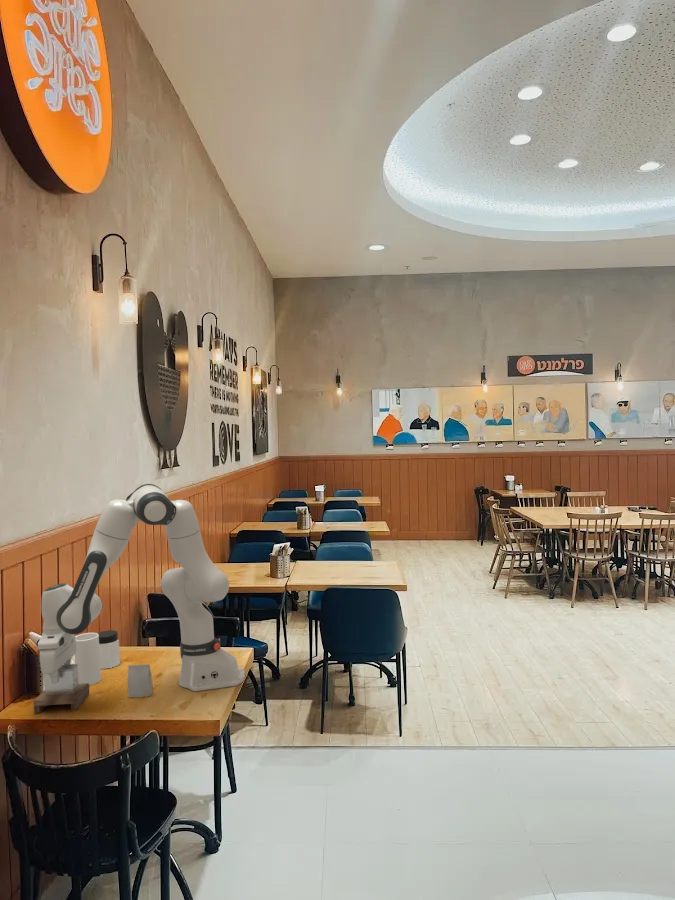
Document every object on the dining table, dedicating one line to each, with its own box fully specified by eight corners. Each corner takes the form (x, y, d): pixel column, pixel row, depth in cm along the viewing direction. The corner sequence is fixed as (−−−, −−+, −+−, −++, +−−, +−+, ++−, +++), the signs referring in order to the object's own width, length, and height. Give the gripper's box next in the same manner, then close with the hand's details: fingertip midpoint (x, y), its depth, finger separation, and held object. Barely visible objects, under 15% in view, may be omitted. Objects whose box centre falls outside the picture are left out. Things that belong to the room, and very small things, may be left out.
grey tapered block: (149, 696, 210) (147, 666, 209) (128, 697, 210) (126, 667, 209) (152, 692, 214) (150, 662, 213) (132, 693, 213) (130, 663, 213)
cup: (92, 686, 221) (89, 640, 220) (71, 685, 223) (68, 640, 222) (105, 677, 229) (103, 632, 228) (85, 676, 231) (82, 632, 230)
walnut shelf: (89, 695, 213) (88, 683, 213) (76, 710, 201) (75, 698, 201) (49, 697, 213) (49, 685, 213) (34, 713, 201) (33, 701, 201)
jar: (94, 664, 242) (92, 633, 242) (116, 659, 247) (114, 628, 246) (99, 671, 235) (97, 639, 234) (122, 666, 239) (120, 634, 239)
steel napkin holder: (79, 687, 210) (77, 663, 209) (73, 693, 205) (72, 669, 205) (50, 689, 209) (49, 665, 209) (44, 695, 205) (43, 671, 204)
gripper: (61, 625, 217) (63, 665, 217) (34, 646, 196) (37, 690, 197) (79, 624, 217) (82, 664, 217) (55, 644, 196) (58, 689, 197)
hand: (61, 677), depth 207 cm, fingers open, 8 cm apart
